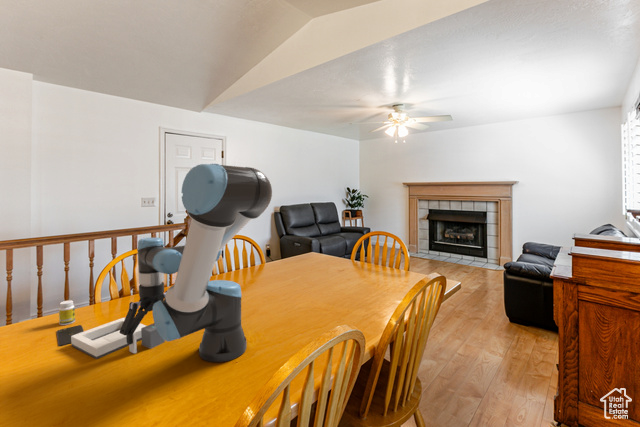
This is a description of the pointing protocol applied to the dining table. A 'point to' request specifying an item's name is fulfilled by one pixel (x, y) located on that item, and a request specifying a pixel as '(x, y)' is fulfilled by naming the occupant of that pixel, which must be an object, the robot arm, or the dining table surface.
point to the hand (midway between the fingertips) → (153, 342)
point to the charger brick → (151, 336)
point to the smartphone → (68, 334)
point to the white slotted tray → (103, 339)
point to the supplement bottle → (66, 312)
